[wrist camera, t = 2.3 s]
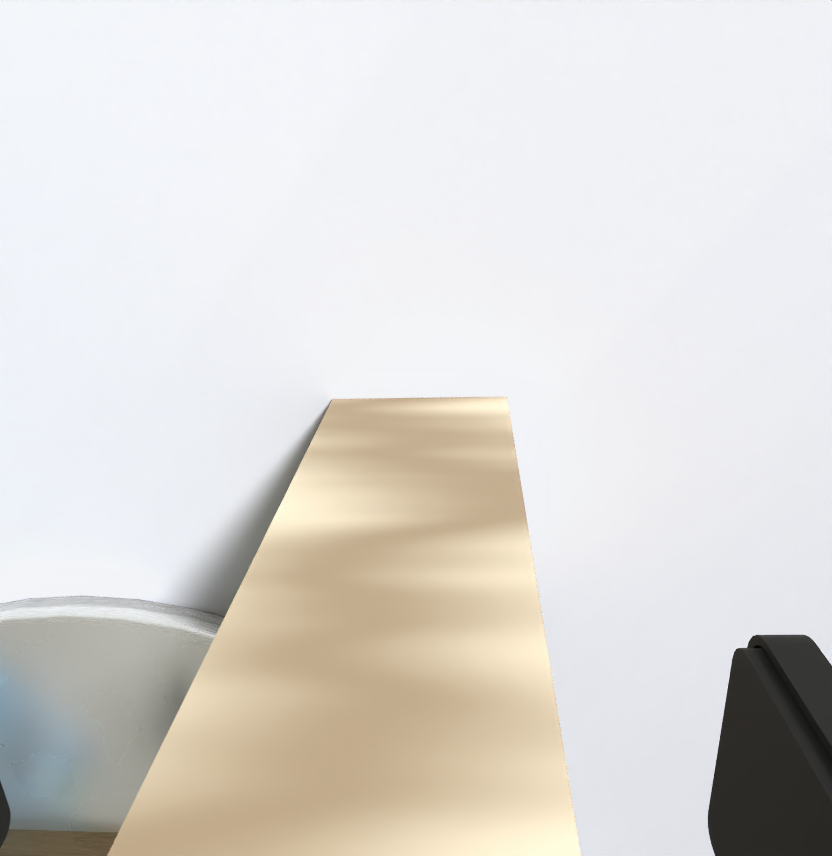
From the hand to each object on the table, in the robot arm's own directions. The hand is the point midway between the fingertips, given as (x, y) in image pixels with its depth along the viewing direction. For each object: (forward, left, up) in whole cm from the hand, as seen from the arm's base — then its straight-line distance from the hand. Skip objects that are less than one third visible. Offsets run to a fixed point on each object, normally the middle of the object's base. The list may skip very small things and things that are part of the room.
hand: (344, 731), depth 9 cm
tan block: (-1, 0, -7) cm, 7 cm away
